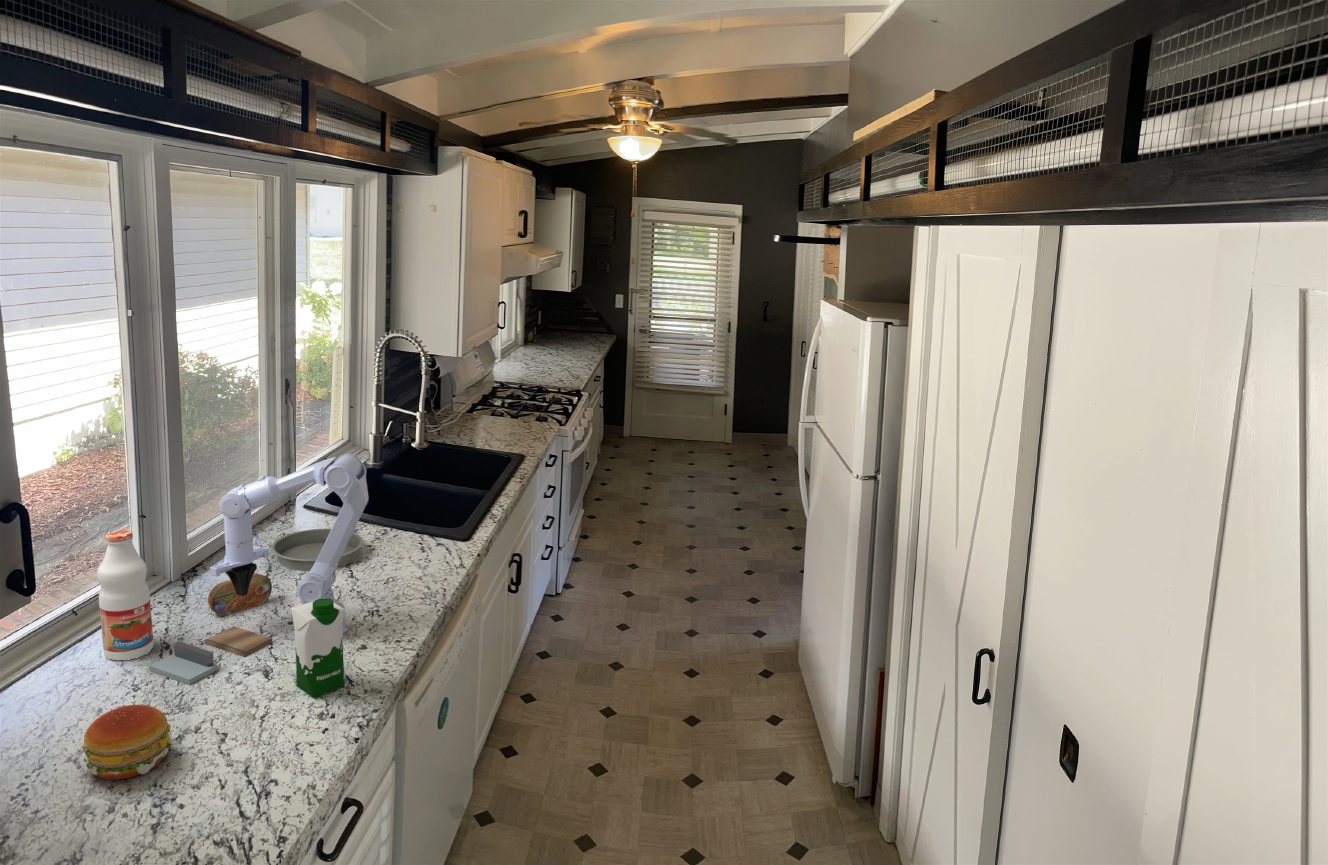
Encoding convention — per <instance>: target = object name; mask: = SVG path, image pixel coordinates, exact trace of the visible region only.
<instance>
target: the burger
mask: <svg viewBox="0 0 1328 865" xmlns="http://www.w3.org/2000/svg"><path fill="white" fill-rule="evenodd" d="M170 733H171V724H170V723H169V722H168V719H167V717H166V714H165V713H163V712H162V711H161V710H160V709H158V708H156V707H155V706H151V705H145V704H129V705H123V706H119V707H116V708H112V709H111V710H109V711H107V712H104V714H101V715H100V716H98V717H97V718H96V719H94V721H93V722H92V723H91V724H90V725H89V726H88V727H87V729H86V731H85V733H84V738H83V744H82V746H81V748H82V749H83V750H84V753H85V756H84V758H83V762H84V763H85V764H86V768H87V770H88V772H89V773H91V774H92V775H94V776H96V777H98V778H100V779H105V780H121V779H126V778H127V779H128V778H131V777H134V776H139V775H146V774H147V773H148V772H150V770H152V768H154V767H156V766H157V765H158V764H159V763H160V762H162V761H163V760H164V758H165V756H166V755H167V754H168V751H169V749H170V750H172V747H173V738H172V737H171V734H170Z"/></svg>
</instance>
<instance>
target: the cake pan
mask: <svg viewBox="0 0 1328 865" xmlns="http://www.w3.org/2000/svg"><path fill="white" fill-rule="evenodd" d="M331 529H332V528H313V529H305V530H301V531H295V532H293V533H289V534H286V535H283V536H281V537H279V538H278V539H277V540H275V541H274V542H273V543H272V544H271V552H272V553H273V554H274V555H275V556H277V560H278V561H277V562H278V563H279V564H280V566H282V567H284V568H286V569H289V570H293V571H300V572H309V571H310V569H311V568H312V567H313V565H314V564H315V562H316V560H317V558H318V556H319V554H320V552H321V550H322V548H323V546H324V544H325V541H326V539H327V537H328V535H329V533H330V531H331ZM363 544H364V539H363V538H362V536H360V534H357V533H355V532H353V533H352V535H351V537H350V539H349V541H348V543H347V546H346V548H345V550H344V552H343V554H342V556H341V558H340V560H339V562H338V566H337V568H341V567H343V566H346V565H349V564H351V563H352V562H353V561H355V559H356V558H357V557H358V553H359V550H360V548H361V547H362V546H363ZM337 568H336V569H337Z"/></svg>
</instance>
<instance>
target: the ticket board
mask: <svg viewBox="0 0 1328 865" xmlns="http://www.w3.org/2000/svg"><path fill="white" fill-rule="evenodd" d="M203 641H204V642H203V643H204V645H205V644H206V645H205V646H208V645H210V646H209V647H211V646H212V647H211V648H214V647H215V649H217V648H218V650H220V649H222V650H221V651H223V650H224V652H226V651H227V652H226V653H229V652H231V653H230V654H232V653H234V654H233V655H236V656H240V657H242V658H244V657H247V656H249V655H251V654H253V653H254V652H256V651H259V650H260V649H262V648H264V647H266V646H269V645H270V644H272V643H273V637H270V636H266V635H263V634H260V633H257V632H254V631H250V630H247V629H244V628H240V627H237V626H232V627H229V628H227V629H225V630H224V631H220V632H218V633H216V634H213V636H210V637H208V638H206V639H204V640H203Z"/></svg>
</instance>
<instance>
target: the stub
mask: <svg viewBox="0 0 1328 865" xmlns="http://www.w3.org/2000/svg"><path fill="white" fill-rule="evenodd" d="M173 651H174V653H172V654H170V655H168V656H166V657H163V658H162V659H160V660H157V661H156V662H153V663H151V664H149V665H148V671H149V670H150V671H149V672H151V671H153V672H152V673H154V672H155V674H157V673H159V674H158V675H160V674H162V675H161V676H163V675H164V676H163V677H166V678H168V677H169V679H172V680H174V681H177V682H180V683H183V684H186V685H188V684H189V686H190V685H192V684H194V683H196V682H198V681H201V680H202V679H204V678H205V677H208V676H210V675H211V674H215V671H216V672H217V671H219V665H218V664H217V663H215V661H214V660H215V659H214V652H213V651H210V650H207V649H204V648H201V647H199V646H196V645H192V644H189V643H186V642H183V641H178V642H176V643H174V644H173Z"/></svg>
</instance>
